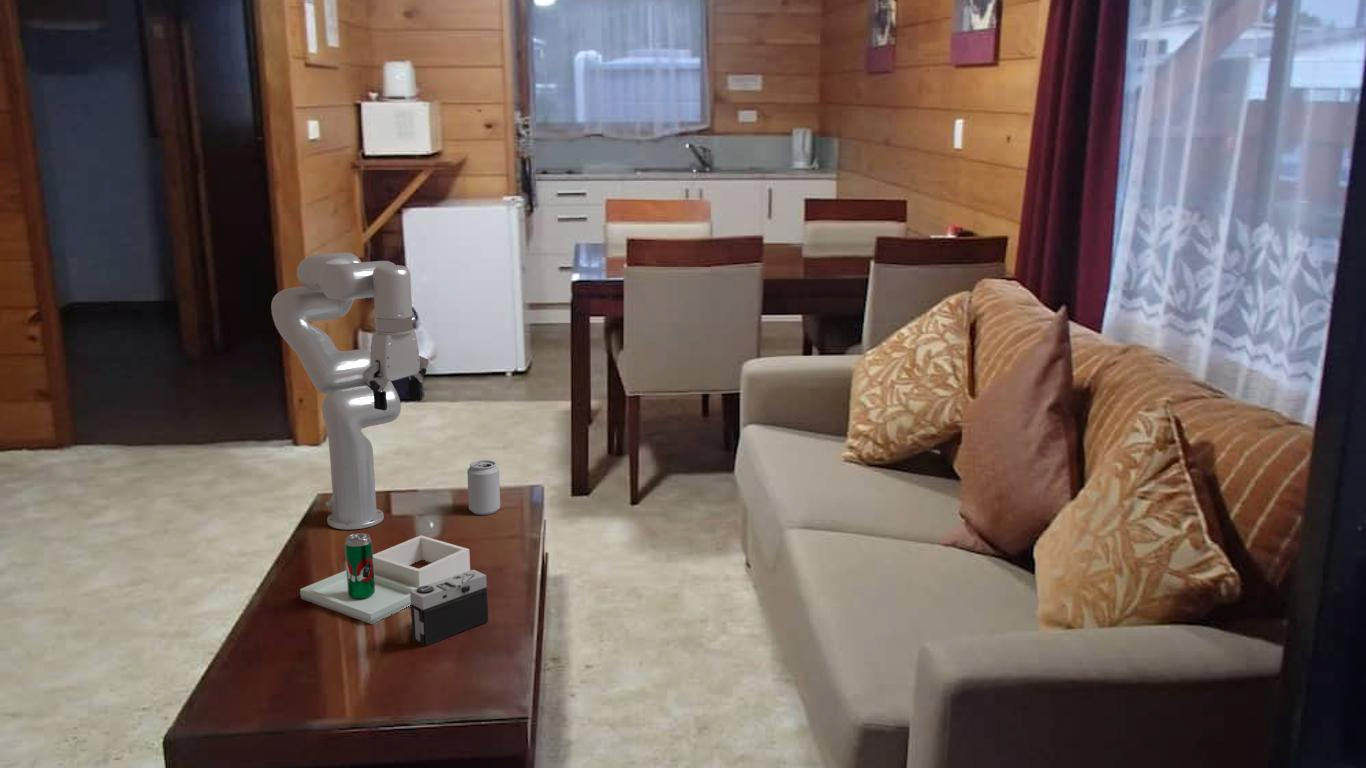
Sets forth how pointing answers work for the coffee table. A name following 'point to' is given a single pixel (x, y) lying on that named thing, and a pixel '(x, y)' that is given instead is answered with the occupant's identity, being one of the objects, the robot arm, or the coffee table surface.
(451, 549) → the holder
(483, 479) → the can
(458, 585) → the camera
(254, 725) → the coffee table surface
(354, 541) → the soda can
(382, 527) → the coffee table surface
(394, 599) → the tray
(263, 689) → the coffee table surface
